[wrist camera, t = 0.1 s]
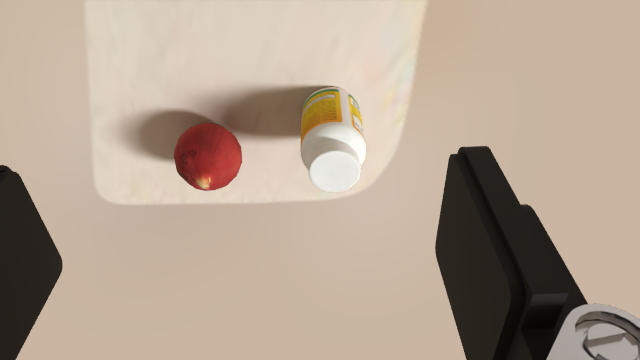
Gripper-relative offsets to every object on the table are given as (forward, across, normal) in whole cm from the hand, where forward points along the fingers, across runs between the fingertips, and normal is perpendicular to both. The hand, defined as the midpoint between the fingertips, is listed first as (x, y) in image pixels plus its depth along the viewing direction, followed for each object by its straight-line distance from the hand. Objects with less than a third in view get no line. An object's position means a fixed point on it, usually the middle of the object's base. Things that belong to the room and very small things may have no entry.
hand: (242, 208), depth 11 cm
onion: (+31, +8, +17) cm, 37 cm away
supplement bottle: (+31, -3, +15) cm, 35 cm away
